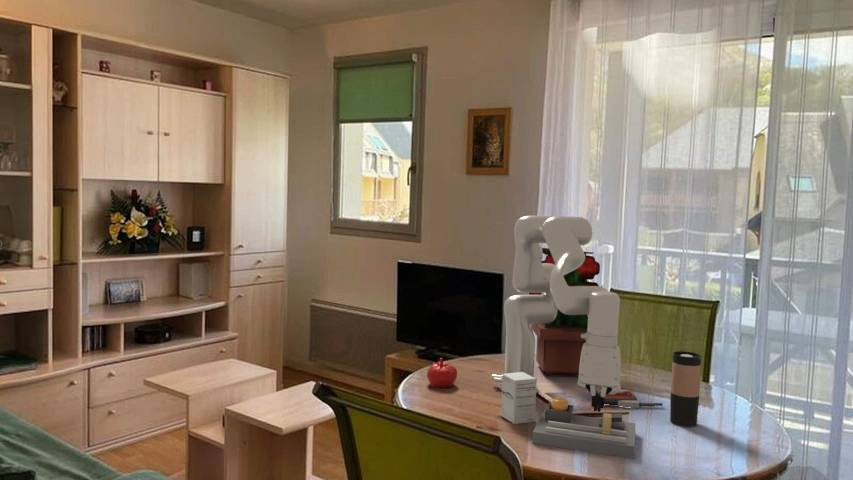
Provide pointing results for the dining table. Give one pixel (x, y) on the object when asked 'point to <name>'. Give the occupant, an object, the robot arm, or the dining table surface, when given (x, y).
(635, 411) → the dining table surface
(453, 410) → the dining table surface
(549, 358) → the potted plant
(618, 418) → the black rocker
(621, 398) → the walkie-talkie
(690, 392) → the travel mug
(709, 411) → the dining table surface
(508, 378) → the supplement box
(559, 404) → the orange button
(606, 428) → the golden rectangular block
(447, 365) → the pomegranate
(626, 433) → the panel
